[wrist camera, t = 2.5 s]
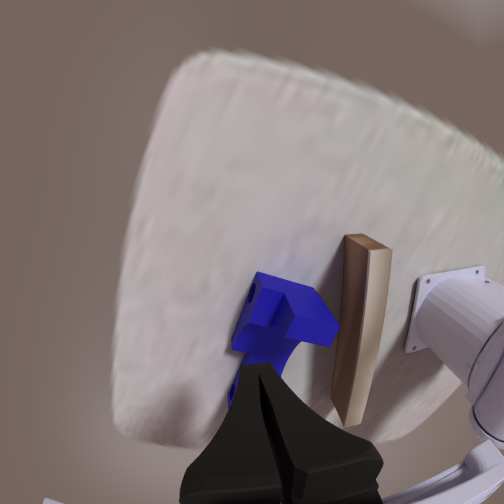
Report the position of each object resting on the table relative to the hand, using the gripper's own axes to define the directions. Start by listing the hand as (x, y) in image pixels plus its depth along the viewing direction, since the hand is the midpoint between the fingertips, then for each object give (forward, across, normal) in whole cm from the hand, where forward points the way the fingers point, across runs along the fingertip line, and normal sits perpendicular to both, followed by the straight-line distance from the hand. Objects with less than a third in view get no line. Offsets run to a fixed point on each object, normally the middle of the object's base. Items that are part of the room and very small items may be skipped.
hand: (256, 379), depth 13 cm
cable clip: (+10, -1, +5) cm, 11 cm away
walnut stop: (+10, -9, +4) cm, 13 cm away
